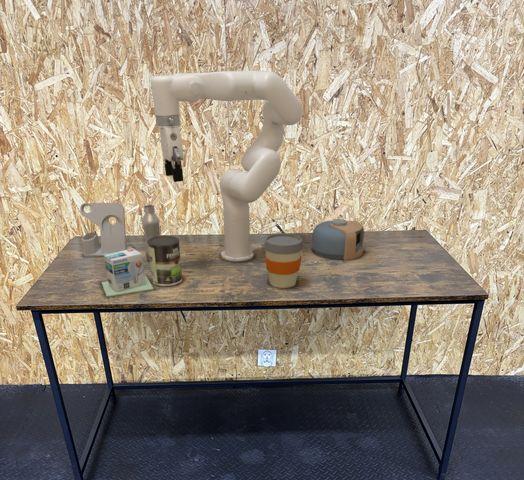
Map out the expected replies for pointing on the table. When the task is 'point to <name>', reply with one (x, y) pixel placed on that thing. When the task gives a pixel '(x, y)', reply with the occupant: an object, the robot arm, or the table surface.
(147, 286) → the pad
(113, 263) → the light bulb box
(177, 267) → the coffee can
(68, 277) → the table surface
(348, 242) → the alarm clock
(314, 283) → the table surface
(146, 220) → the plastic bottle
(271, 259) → the reusable coffee cup
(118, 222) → the phone holder
